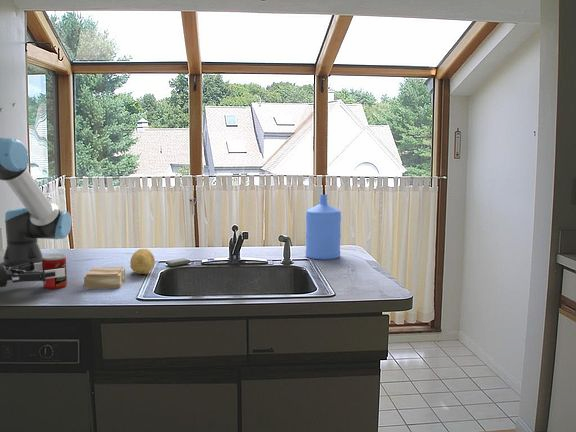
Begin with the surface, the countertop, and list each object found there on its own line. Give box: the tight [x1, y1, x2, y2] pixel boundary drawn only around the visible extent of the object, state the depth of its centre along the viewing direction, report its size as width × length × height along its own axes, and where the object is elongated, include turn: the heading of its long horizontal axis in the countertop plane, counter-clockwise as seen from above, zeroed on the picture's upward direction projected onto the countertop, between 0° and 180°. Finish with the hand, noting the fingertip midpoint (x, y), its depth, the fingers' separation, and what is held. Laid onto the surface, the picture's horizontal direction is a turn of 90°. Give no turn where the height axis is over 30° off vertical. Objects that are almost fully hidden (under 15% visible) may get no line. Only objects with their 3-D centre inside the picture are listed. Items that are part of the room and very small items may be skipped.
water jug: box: [305, 194, 342, 261], centre depth 246 cm, size 16×16×28 cm
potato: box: [129, 248, 156, 275], centre depth 214 cm, size 10×14×10 cm
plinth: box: [83, 266, 126, 290], centre depth 198 cm, size 12×12×5 cm
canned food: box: [41, 253, 68, 290], centre depth 194 cm, size 8×8×11 cm
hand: (59, 268), depth 194 cm, fingers open, 13 cm apart
